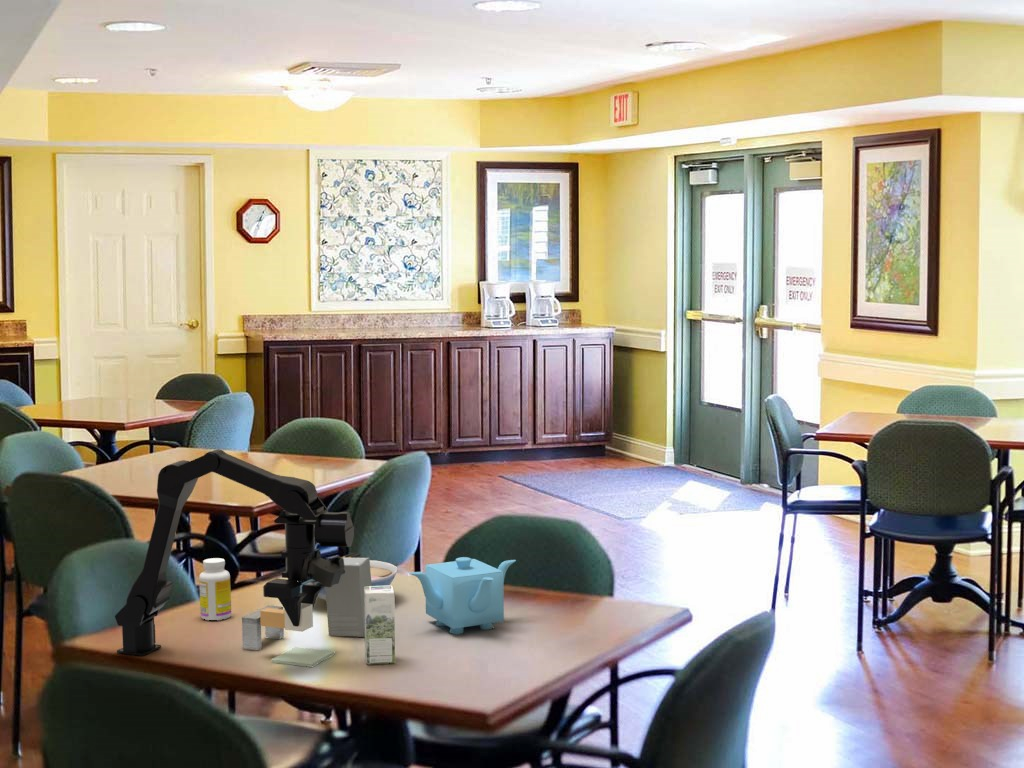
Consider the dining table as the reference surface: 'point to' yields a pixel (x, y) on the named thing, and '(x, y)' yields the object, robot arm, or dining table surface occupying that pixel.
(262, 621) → the plug
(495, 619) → the teakettle
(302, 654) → the pad
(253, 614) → the grey bridge block
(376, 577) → the ramen bowl
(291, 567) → the robot arm
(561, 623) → the dining table surface
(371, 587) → the syrup box
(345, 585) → the skincare box
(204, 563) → the supplement bottle
